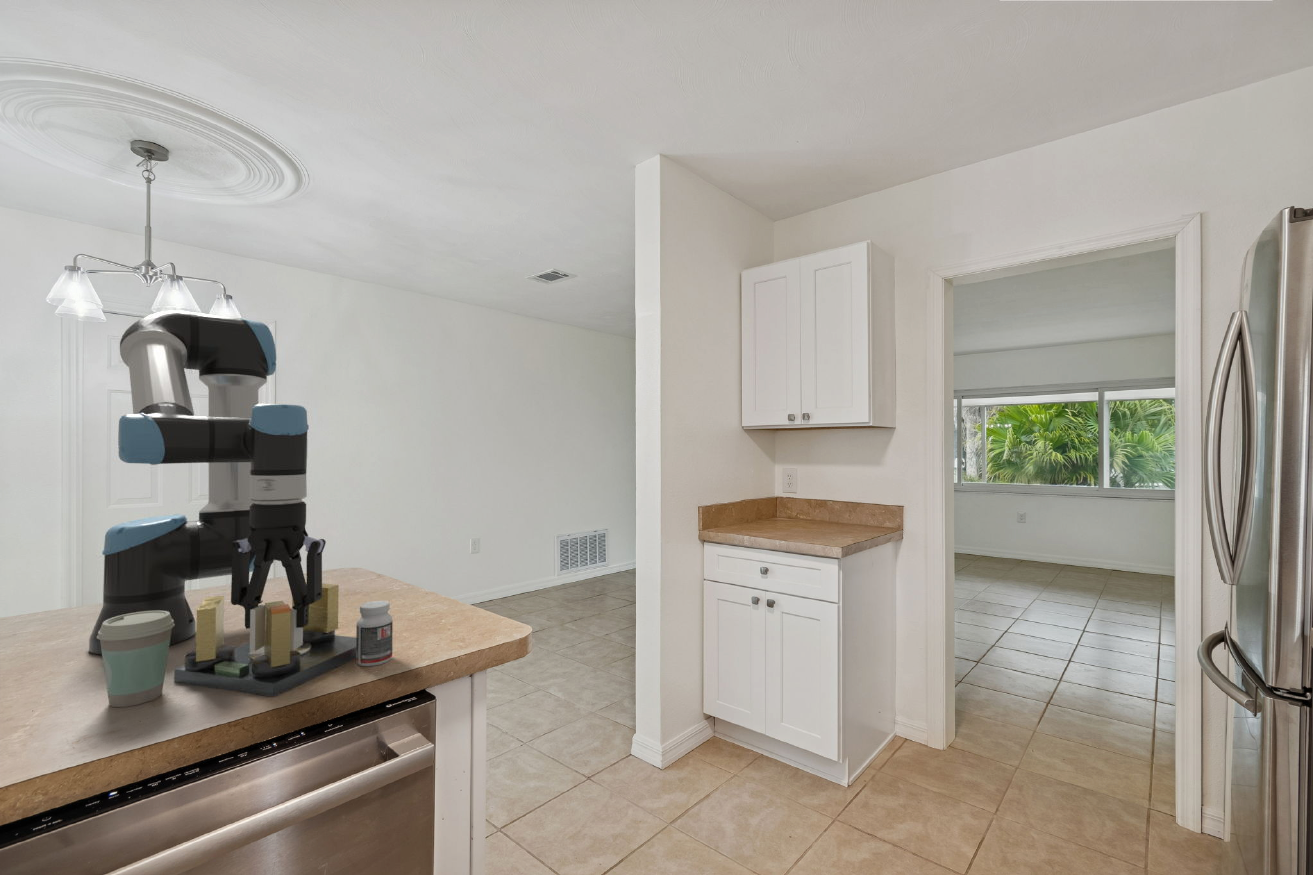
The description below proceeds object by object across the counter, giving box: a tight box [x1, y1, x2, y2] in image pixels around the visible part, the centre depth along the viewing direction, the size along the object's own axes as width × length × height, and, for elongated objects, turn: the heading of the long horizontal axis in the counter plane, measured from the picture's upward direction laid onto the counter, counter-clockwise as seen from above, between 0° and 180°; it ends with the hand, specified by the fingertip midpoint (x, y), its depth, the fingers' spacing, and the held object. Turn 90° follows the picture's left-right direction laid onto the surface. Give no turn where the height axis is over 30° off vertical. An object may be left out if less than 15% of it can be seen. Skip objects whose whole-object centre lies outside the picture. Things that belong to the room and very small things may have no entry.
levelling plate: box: [173, 634, 356, 698], centre depth 98 cm, size 20×20×3 cm
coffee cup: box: [97, 611, 175, 708], centre depth 85 cm, size 9×8×12 cm
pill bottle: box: [355, 600, 394, 667], centre depth 100 cm, size 6×6×10 cm
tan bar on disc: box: [252, 600, 300, 679], centre depth 91 cm, size 8×6×11 cm
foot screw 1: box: [184, 595, 235, 672], centre depth 93 cm, size 8×6×10 cm
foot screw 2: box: [291, 581, 340, 645], centre depth 105 cm, size 8×6×10 cm
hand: (276, 647), depth 91 cm, fingers closed on tan bar on disc, 5 cm apart
